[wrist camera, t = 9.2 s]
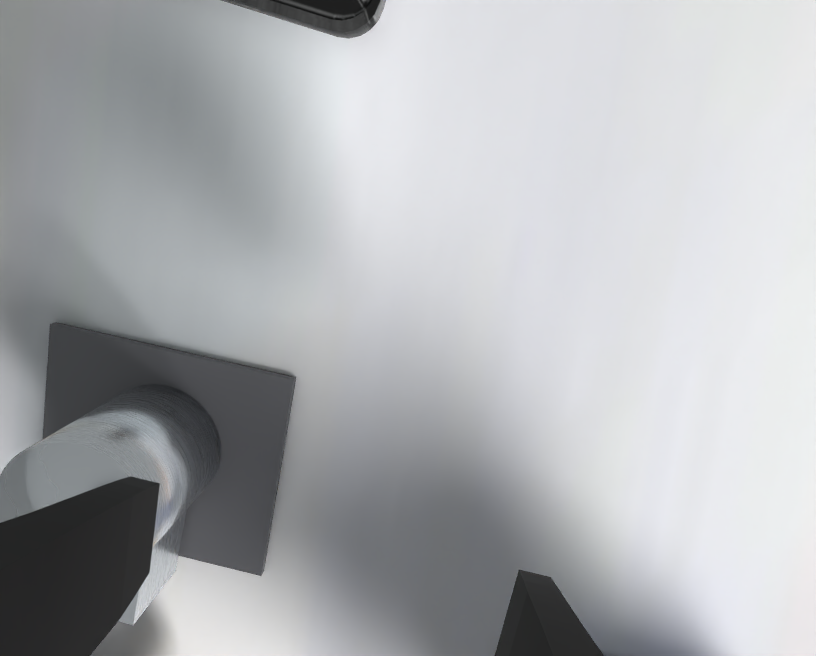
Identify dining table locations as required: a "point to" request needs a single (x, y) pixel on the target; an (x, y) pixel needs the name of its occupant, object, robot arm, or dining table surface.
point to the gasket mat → (228, 407)
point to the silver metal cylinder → (124, 467)
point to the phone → (322, 14)
